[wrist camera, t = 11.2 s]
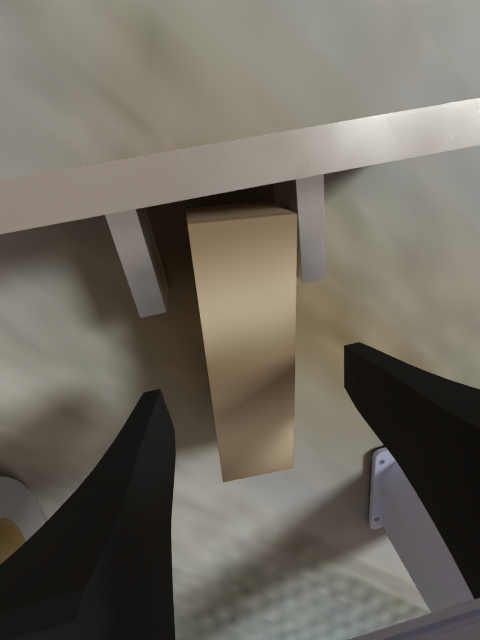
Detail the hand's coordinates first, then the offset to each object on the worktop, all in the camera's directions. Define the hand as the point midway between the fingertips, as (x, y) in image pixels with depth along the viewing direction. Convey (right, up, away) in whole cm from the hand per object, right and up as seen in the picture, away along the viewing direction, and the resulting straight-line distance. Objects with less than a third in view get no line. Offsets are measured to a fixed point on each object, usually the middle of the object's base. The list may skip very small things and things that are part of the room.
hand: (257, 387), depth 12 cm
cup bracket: (-2, +8, +1) cm, 8 cm away
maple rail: (-1, +2, +4) cm, 5 cm away
